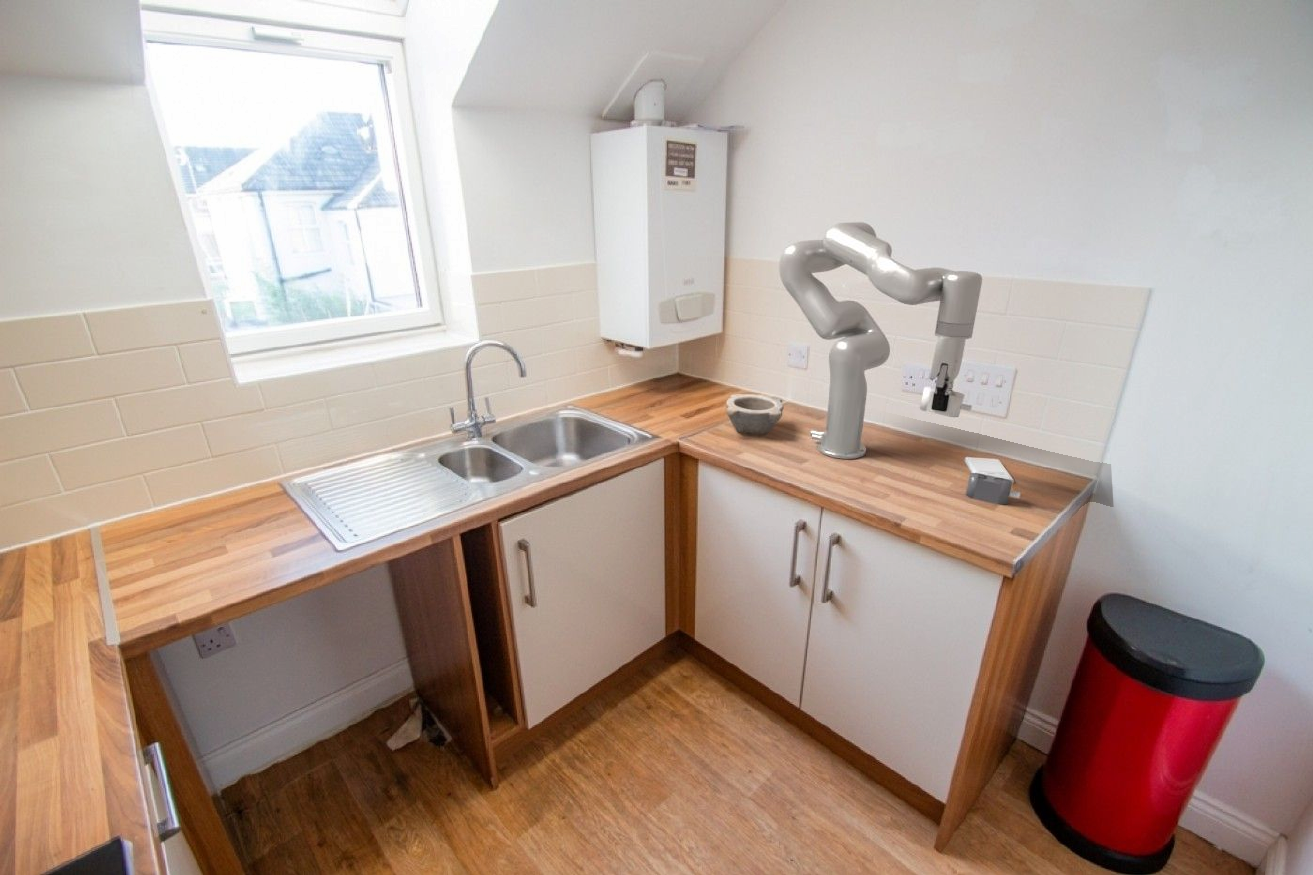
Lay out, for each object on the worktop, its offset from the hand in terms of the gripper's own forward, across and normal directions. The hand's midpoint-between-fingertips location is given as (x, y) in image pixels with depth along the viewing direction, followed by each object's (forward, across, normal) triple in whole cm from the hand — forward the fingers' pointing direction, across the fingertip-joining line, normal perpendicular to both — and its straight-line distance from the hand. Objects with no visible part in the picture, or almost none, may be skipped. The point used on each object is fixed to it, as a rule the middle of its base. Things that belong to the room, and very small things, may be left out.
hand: (940, 407), depth 140 cm
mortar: (+20, -9, -51) cm, 55 cm away
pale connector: (+1, 0, 0) cm, 1 cm away
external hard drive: (+20, -14, +11) cm, 27 cm away
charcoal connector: (+19, +2, +13) cm, 23 cm away
